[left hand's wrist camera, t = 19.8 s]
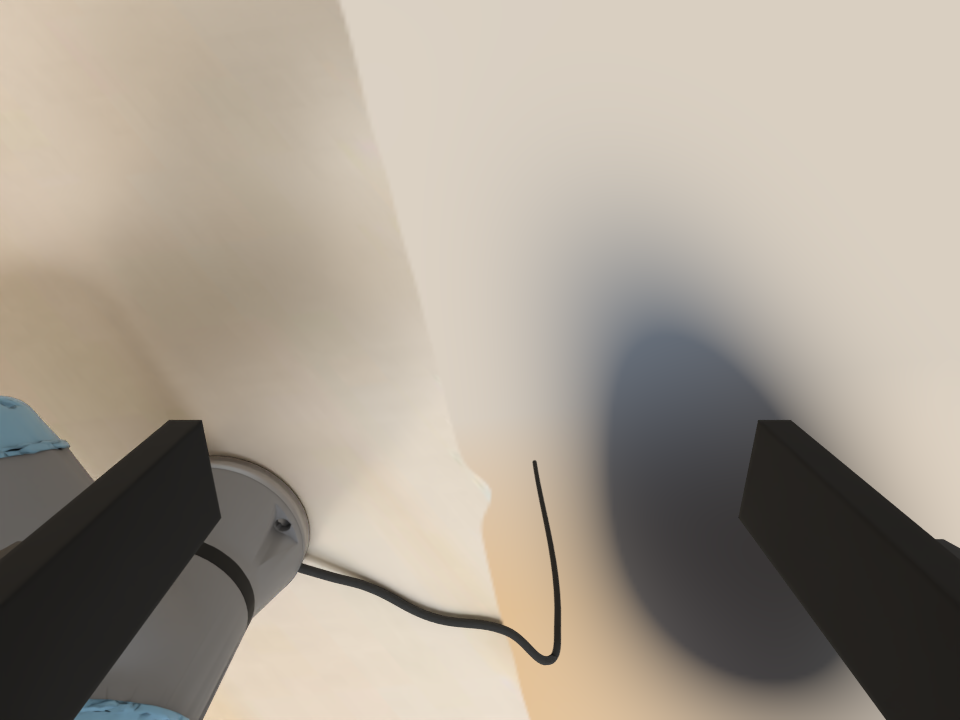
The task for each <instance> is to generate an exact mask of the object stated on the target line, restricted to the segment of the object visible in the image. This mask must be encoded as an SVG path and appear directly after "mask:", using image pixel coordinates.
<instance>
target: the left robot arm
mask: <svg viewBox="0 0 960 720" xmlns="http://www.w3.org/2000/svg"><path fill="white" fill-rule="evenodd" d="M69 447H70V445H69V444H68V442H66V441H65V440H61V439H60V438H59V437H58V436H57V435H56V434H55V433H54V432H53V431H52V430H51V429H50V428H49V427H48V426H47V425H46V424H45V423H44V422H43V420H42V419H41V418H40V417H39V416H38V415H37V414H36V413H35V411H34V410H33V409H32V408H31V407H30V406H29V405H27V404H26V403H24V402H23V401H21V400H18V399H16V398H12V397H8V396H0V720H203V718H204V716H205V714H206V712H207V710H208V708H209V706H210V704H211V701H212V699H213V697H214V695H215V693H216V691H217V689H218V687H219V685H220V683H221V681H222V679H223V677H224V675H225V673H226V671H227V668H228V666H229V664H230V662H231V660H232V658H233V656H234V654H235V652H236V650H237V648H238V646H239V644H240V642H241V640H242V638H243V635H244V633H245V631H246V629H247V627H248V625H249V623H250V622H251V620H252V618H253V617H254V616H255V615H256V614H257V613H258V612H259V611H260V610H261V609H263V608H264V607H265V606H266V605H267V604H268V603H269V602H270V601H271V600H272V599H273V598H274V597H275V596H276V595H277V594H278V593H279V592H280V591H281V590H282V589H283V588H285V587H286V586H287V585H288V584H289V583H290V582H291V581H292V579H293V578H294V577H295V575H296V574H297V572H299V573H303V574H306V575H310V576H313V577H317V578H320V579H324V580H327V581H331V582H335V583H339V584H343V585H347V586H351V587H355V588H359V589H362V590H365V591H367V592H370V593H372V594H375V595H377V596H379V597H381V598H383V599H385V600H387V601H389V602H391V603H392V604H394V605H396V606H398V607H400V608H401V609H403V610H405V611H407V612H409V613H411V614H413V615H415V616H417V617H420V618H422V619H425V620H428V621H431V622H434V623H438V624H442V625H447V626H454V627H464V628H475V629H483V630H489V631H494V632H497V633H500V634H503V635H506V636H508V637H510V638H511V639H513V640H514V641H516V642H517V643H518V644H519V645H520V646H521V647H522V648H523V649H524V650H525V651H526V652H527V653H528V654H529V655H530V656H531V657H532V658H533V659H534V660H535V661H537V662H538V663H540V664H542V665H550V664H553V663H554V662H555V661H556V660H557V659H558V657H559V655H560V650H561V598H560V586H559V576H558V569H557V562H556V556H555V551H554V545H553V540H552V535H551V530H550V525H549V521H548V516H547V511H546V507H545V502H544V497H543V493H542V488H541V483H540V478H539V472H538V467H537V461H536V460H533V462H532V463H533V469H534V476H535V481H536V487H537V492H538V497H539V502H540V507H541V512H542V517H543V522H544V527H545V532H546V537H547V543H548V548H549V555H550V561H551V569H552V578H553V589H554V645H553V650H552V653H551V654H550V655H549V656H543V655H541V654H540V653H538V652H537V651H536V650H535V649H534V648H533V647H532V646H531V645H530V644H529V643H528V642H527V641H526V640H525V639H524V638H523V637H522V636H521V635H520V634H519V633H517V632H516V631H514V630H513V629H511V628H509V627H507V626H504V625H501V624H498V623H494V622H489V621H483V620H475V619H463V618H454V617H447V616H442V615H438V614H435V613H432V612H429V611H426V610H424V609H421V608H419V607H417V606H415V605H413V604H411V603H409V602H407V601H405V600H403V599H402V598H400V597H398V596H396V595H395V594H393V593H391V592H389V591H387V590H385V589H383V588H381V587H379V586H377V585H374V584H372V583H369V582H366V581H363V580H360V579H357V578H353V577H349V576H345V575H341V574H337V573H333V572H330V571H326V570H323V569H319V568H316V567H312V566H309V565H306V564H302V561H303V559H304V557H305V554H306V552H307V549H308V545H309V539H310V530H309V523H308V518H307V516H306V513H305V510H304V508H303V506H302V504H301V502H300V501H299V499H298V498H297V496H296V495H295V494H294V492H293V491H292V490H291V489H290V488H289V487H288V486H287V485H286V484H285V483H284V482H283V481H282V480H281V479H279V478H278V477H277V476H275V475H274V474H272V473H271V472H269V471H268V470H266V469H264V468H262V467H260V466H258V465H256V464H253V463H250V462H248V461H245V460H241V459H237V458H232V457H225V456H209V454H208V449H207V444H206V439H205V434H204V429H203V424H202V420H169V421H168V422H166V423H165V424H164V425H163V426H162V427H160V428H159V429H158V430H157V431H155V432H154V433H153V434H152V435H151V436H149V437H148V438H147V439H146V440H145V441H143V442H142V443H141V444H140V445H139V446H137V447H136V448H135V449H134V450H132V451H131V452H130V453H129V454H128V455H126V456H125V457H124V458H123V459H122V460H120V461H119V462H118V463H117V464H115V465H114V466H113V467H112V468H111V469H109V470H108V471H107V472H106V473H105V474H103V475H102V476H101V477H100V478H98V479H97V480H96V481H95V482H94V481H93V479H92V478H91V477H90V475H89V474H88V473H87V472H86V470H85V469H84V468H83V466H82V465H81V464H80V463H79V461H78V460H77V459H76V457H75V456H74V455H73V454H72V452H71V451H70V450H69ZM739 519H740V520H741V522H742V523H743V525H744V526H745V527H746V529H747V530H748V531H749V533H750V534H751V535H752V537H753V538H754V540H755V541H756V542H757V544H758V545H759V546H760V548H761V549H762V551H763V552H764V553H765V555H766V556H767V557H768V559H769V560H770V561H771V563H772V564H773V566H774V567H775V568H776V570H777V571H778V572H779V574H780V575H781V577H782V578H783V579H784V581H785V582H786V583H787V585H788V586H789V587H790V589H791V590H792V592H793V593H794V594H795V596H796V597H797V598H798V600H799V601H800V602H801V604H802V605H803V607H804V608H805V609H806V611H807V612H808V613H809V615H810V616H811V618H812V619H813V620H814V622H815V623H816V624H817V626H818V627H819V629H820V630H821V631H822V633H823V634H824V635H825V637H826V638H827V639H828V641H829V642H830V644H831V645H832V646H833V648H834V649H835V650H836V652H837V653H838V655H839V656H840V657H841V659H842V660H843V661H844V663H845V664H846V665H847V667H848V668H849V670H850V671H851V672H852V674H853V675H854V676H855V678H856V679H857V681H858V682H859V683H860V685H861V686H862V687H863V689H864V690H865V691H866V693H867V694H868V696H869V697H870V698H871V700H872V701H873V702H874V704H875V705H876V706H877V708H878V709H879V711H880V712H881V713H882V715H883V716H884V717H885V719H886V720H960V548H958V547H957V546H955V545H953V544H951V543H949V542H947V541H946V540H944V539H934V538H933V537H932V536H931V535H929V534H928V533H927V532H926V531H925V530H923V529H922V528H921V527H920V526H919V525H917V524H916V523H915V522H914V521H912V520H911V519H910V518H909V517H908V516H906V515H905V514H904V513H903V512H901V511H900V510H899V509H898V508H897V507H896V506H894V505H893V504H892V503H891V502H889V501H888V500H887V499H886V498H885V497H883V496H882V495H881V494H880V493H879V492H877V491H876V490H875V489H874V488H872V487H871V486H870V485H869V484H868V483H866V482H865V481H864V480H863V479H862V478H860V477H859V476H858V475H857V474H855V473H854V472H853V471H852V470H851V469H849V468H848V467H847V466H846V465H845V464H843V463H842V462H841V461H840V460H838V459H837V458H836V457H835V456H834V455H832V454H831V453H830V452H829V451H827V450H826V449H825V448H824V447H823V446H821V445H820V444H819V443H818V442H817V441H815V440H814V439H813V438H812V437H811V436H809V435H808V434H807V433H806V432H805V431H803V430H802V429H801V428H800V427H798V426H797V425H796V424H795V423H794V422H792V421H791V420H758V424H757V429H756V434H755V439H754V444H753V449H752V454H751V458H750V463H749V468H748V474H747V478H746V483H745V488H744V493H743V498H742V503H741V508H740V513H739Z"/></svg>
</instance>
